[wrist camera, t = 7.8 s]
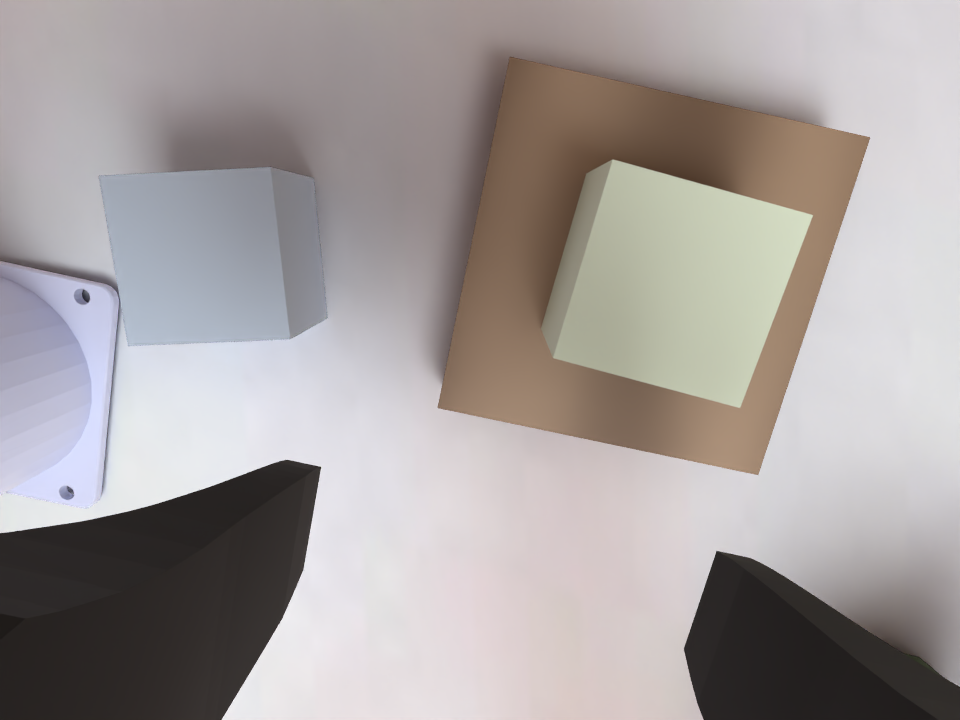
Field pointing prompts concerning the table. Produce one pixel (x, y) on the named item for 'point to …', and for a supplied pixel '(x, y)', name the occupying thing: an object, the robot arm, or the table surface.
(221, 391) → the table surface
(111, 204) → the blue block
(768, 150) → the walnut slab
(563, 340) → the sage block
